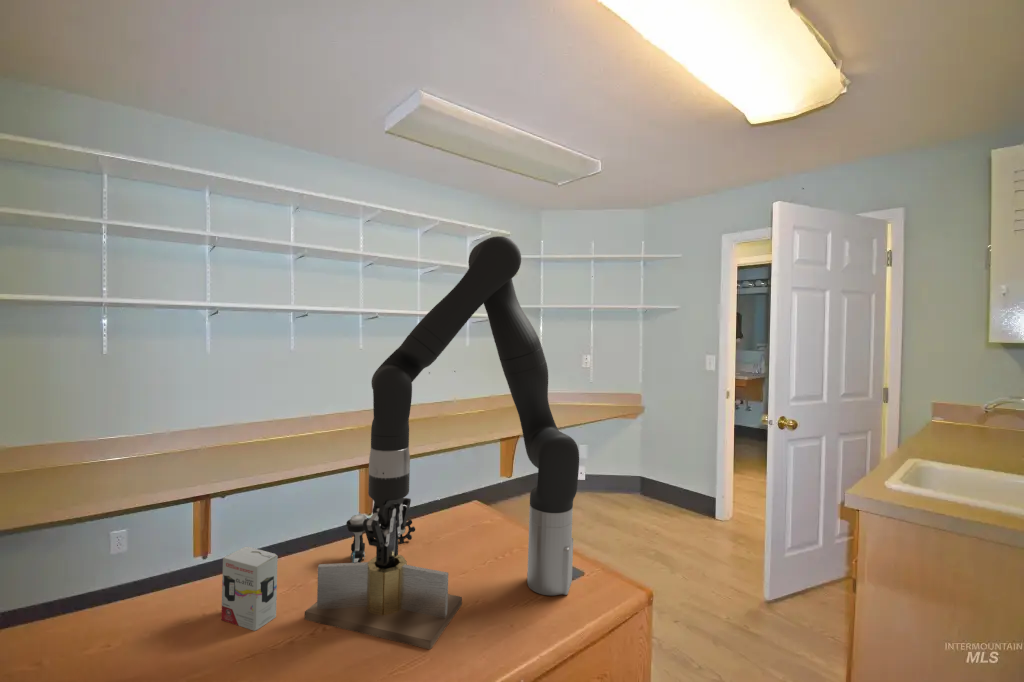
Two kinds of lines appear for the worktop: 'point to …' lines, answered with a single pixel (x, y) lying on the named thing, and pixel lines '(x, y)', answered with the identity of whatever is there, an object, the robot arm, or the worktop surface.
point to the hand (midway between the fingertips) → (387, 559)
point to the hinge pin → (391, 547)
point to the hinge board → (388, 622)
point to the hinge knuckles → (383, 588)
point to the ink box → (249, 588)
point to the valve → (408, 536)
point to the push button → (357, 537)
